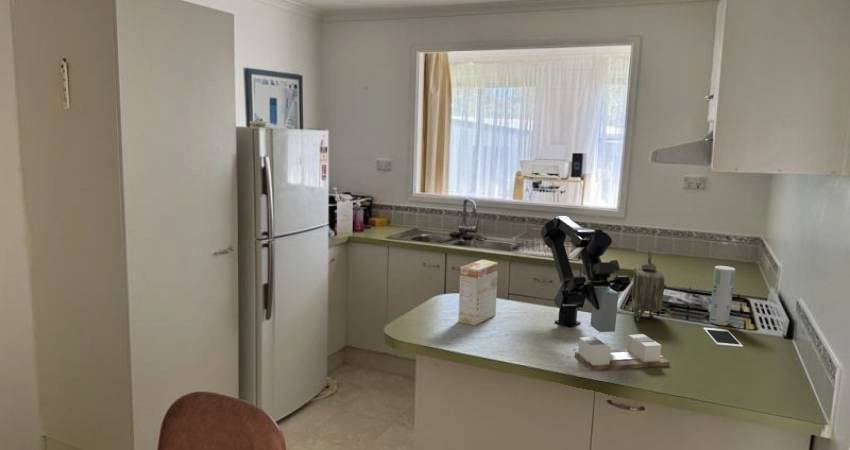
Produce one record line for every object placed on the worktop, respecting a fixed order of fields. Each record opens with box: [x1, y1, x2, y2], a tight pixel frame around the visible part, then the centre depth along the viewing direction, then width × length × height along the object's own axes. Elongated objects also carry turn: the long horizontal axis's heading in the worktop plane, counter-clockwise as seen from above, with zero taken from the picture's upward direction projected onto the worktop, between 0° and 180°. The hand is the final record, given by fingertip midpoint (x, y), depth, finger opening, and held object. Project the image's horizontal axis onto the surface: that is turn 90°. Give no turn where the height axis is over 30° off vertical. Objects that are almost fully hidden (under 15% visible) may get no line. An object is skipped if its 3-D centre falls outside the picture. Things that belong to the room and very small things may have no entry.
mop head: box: [631, 249, 665, 322], centre depth 209 cm, size 14×9×25 cm, turn 164°
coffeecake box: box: [457, 259, 499, 326], centre depth 203 cm, size 15×7×20 cm, turn 144°
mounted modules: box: [577, 333, 662, 365], centre depth 170 cm, size 21×9×5 cm, turn 102°
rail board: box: [574, 348, 671, 372], centre depth 171 cm, size 24×11×2 cm, turn 102°
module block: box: [589, 287, 619, 333], centre depth 177 cm, size 6×5×12 cm
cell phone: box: [703, 327, 744, 348], centre depth 193 cm, size 8×16×1 cm, turn 170°
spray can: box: [708, 265, 736, 326], centre depth 207 cm, size 6×6×20 cm
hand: (606, 309), depth 175 cm, fingers closed on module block, 5 cm apart
